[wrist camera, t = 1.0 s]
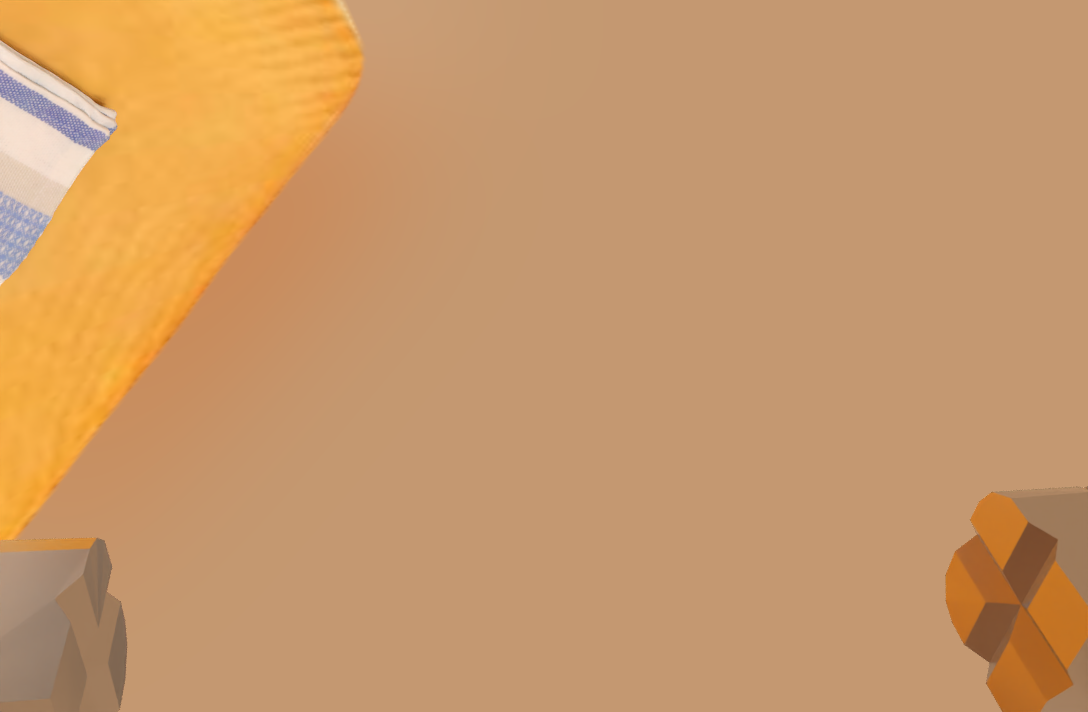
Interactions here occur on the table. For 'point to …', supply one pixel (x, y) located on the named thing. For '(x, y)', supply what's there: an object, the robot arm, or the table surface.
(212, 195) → the table surface
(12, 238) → the dish towel
